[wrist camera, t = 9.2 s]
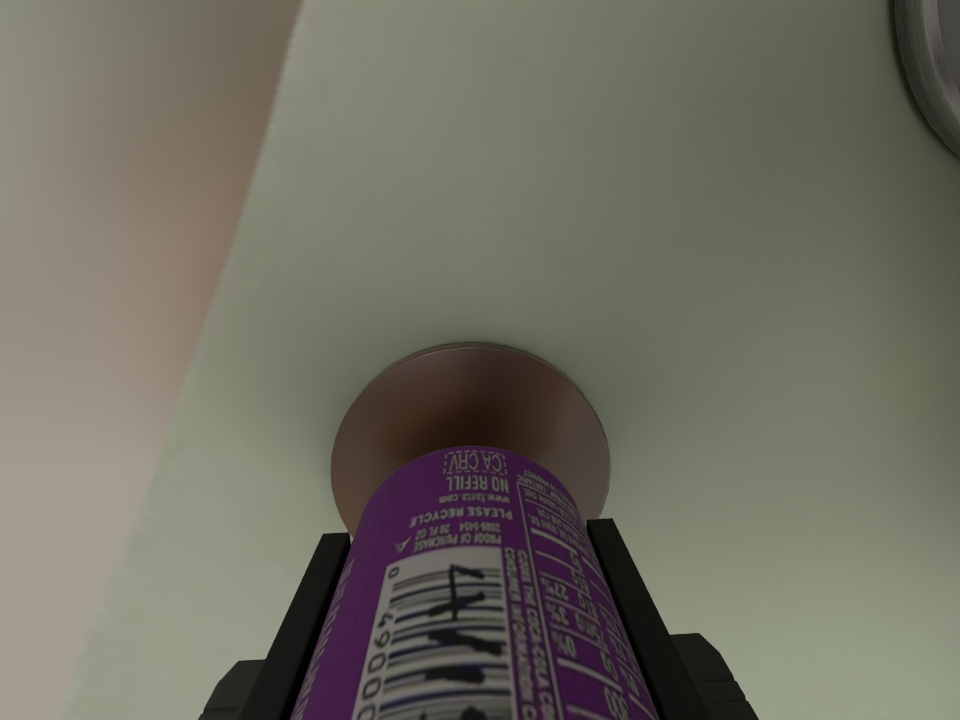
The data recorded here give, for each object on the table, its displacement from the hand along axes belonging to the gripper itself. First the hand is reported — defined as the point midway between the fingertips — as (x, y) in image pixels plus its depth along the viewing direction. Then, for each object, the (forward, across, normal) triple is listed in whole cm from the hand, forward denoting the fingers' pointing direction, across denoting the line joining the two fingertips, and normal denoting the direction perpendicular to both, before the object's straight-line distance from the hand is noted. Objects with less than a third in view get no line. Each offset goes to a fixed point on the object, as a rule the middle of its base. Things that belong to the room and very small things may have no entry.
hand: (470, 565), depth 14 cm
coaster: (+5, 0, 0) cm, 5 cm away
